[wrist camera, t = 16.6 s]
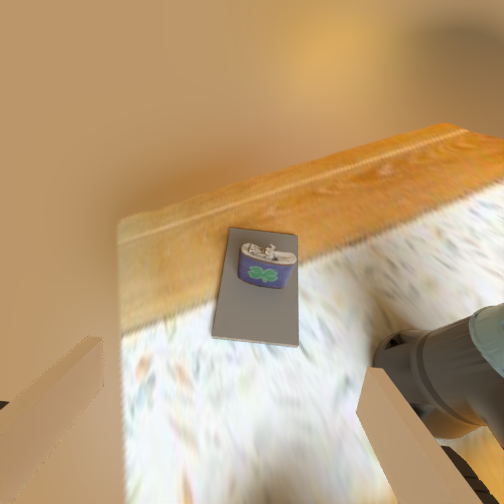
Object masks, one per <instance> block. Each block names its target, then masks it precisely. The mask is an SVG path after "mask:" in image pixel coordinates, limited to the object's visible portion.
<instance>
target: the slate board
mask: <svg viewBox="0 0 504 504" xmlns="http://www.w3.org/2000/svg"><path fill="white" fill-rule="evenodd" d="M245 243H252V244H254V245H257V246H259V247H262V248H267V247H269V248H271V245H270V244H272V245H273V246H275V249H273V250H275V251H281V252H291V253H294V254H295V256H296V258H297V262H296V264H295V266H294V268H293V271H292V273H291V275H290V278H289V280H288V282H287V285H286V286H285V287H284V288H281V289H273V288H265V287H258V286H254V285H250V284H248V283H245V282H243V281H241V280H240V279H239V278H238V261H239V249H240V246H241V245H242V244H245ZM212 338H214V339H223V340H232V341H241V342H250V343H259V344H268V345H277V346H286V347H296V348H297V347H298V346H299V326H298V236H296V235H288V234H280V233H271V232H263V231H255V230H246V229H238V228H230V233H229V239H228V244H227V250H226V256H225V262H224V268H223V274H222V280H221V286H220V292H219V298H218V304H217V310H216V316H215V321H214V327H213V333H212Z"/></svg>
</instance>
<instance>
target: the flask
mask: <svg viewBox="0 0 504 504" xmlns="http://www.w3.org/2000/svg"><path fill="white" fill-rule="evenodd" d="M270 245H271V248H269V247H267V248H262V247H259V246H257V245H254V244H252V243H245V244H242V245H241V246H240V249H239V261H238V278H239V279H240V280H241V281H243V282H245V283H248V284H250V285H254V286H258V287H265V288H273V289H281V288H284V287H285V286H286V285H287V282H288V280H289V278H290V275H291V273H292V271H293V268H294V266H295V264H296V262H297V258H296V256H295V254H294V253H291V252H281V251H275V250H273V249H275V246H273V245H272V244H270Z"/></svg>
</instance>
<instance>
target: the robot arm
mask: <svg viewBox="0 0 504 504" xmlns="http://www.w3.org/2000/svg"><path fill="white" fill-rule="evenodd" d="M103 378H104V374H103V338H101V337H92V336H87V337H86V338H85V339H84V340H82V341H81V342H80V343H79V344H78V345H76V346H75V347H74V348H73V349H72V350H71V351H69V352H68V353H67V354H66V355H65V356H64V357H62V358H61V359H60V360H59V361H58V362H56V363H55V364H54V365H53V366H52V367H51V368H49V369H48V370H47V371H46V372H45V373H44V374H42V375H41V376H40V377H39V378H38V379H37V380H35V381H34V382H33V383H32V384H31V385H30V386H28V387H27V388H26V389H25V390H24V391H22V392H21V393H20V394H19V395H18V396H16V397H15V398H14V399H13V400H12V401H11V402H6V401H0V504H12V502H13V501H14V500H15V499H16V497H17V496H18V495H19V493H20V492H21V491H22V490H23V488H24V487H25V486H26V485H27V483H28V482H29V480H30V479H31V478H32V477H33V475H34V474H35V473H36V472H37V470H38V469H39V468H40V467H41V465H42V464H43V463H44V461H45V460H46V459H47V457H48V456H49V455H50V454H51V453H52V451H53V450H54V449H55V448H56V446H57V445H58V443H59V442H60V441H61V440H62V439H63V437H64V436H65V435H66V433H67V432H68V431H69V430H70V428H71V427H72V426H73V425H74V423H75V422H76V421H77V419H78V418H79V417H80V416H81V414H82V413H83V412H84V410H85V409H86V408H87V407H88V405H89V404H90V403H91V402H92V400H93V399H94V398H95V396H96V395H97V394H98V393H99V391H100V390H101V389H102V387H103V386H104V383H103V382H104V379H103ZM356 414H357V416H358V418H359V420H360V422H361V425H362V427H363V429H364V431H365V433H366V435H367V437H368V439H369V442H370V444H371V446H372V448H373V450H374V452H375V454H376V456H377V459H378V461H379V463H380V465H381V467H382V469H383V471H384V473H385V475H386V478H387V480H388V482H389V484H390V486H391V488H392V490H393V492H394V495H395V497H396V499H397V501H398V503H399V504H499V503H498V501H497V500H496V499H495V498H494V496H493V495H491V494H490V492H489V490H488V489H487V487H486V486H485V485H484V484H483V482H482V481H481V480H479V479H478V476H477V475H476V474H475V472H474V471H473V470H472V469H471V467H470V466H469V465H468V464H467V462H466V461H465V460H464V459H463V458H461V457H460V456H459V455H458V454H457V453H456V452H455V451H453V450H452V449H451V448H450V447H448V446H440V445H439V444H438V442H437V441H436V440H435V438H438V439H455V438H459V437H462V436H464V435H466V434H468V433H469V432H471V431H473V430H475V429H477V428H479V427H480V426H488V428H489V429H490V431H491V432H492V434H493V435H494V437H495V438H496V440H497V441H498V442H499V444H500V445H501V447H502V448H503V450H504V303H502V304H499V305H496V306H488V307H485V308H482V309H480V310H478V311H476V312H475V313H474V314H473V315H472V316H469V317H467V318H464V319H462V320H459V321H456V322H454V323H451V324H449V325H446V326H443V327H441V328H438V329H436V330H434V331H428V330H404V331H400V332H397V333H395V334H393V335H391V336H389V337H387V338H386V339H385V340H383V341H382V343H381V344H380V345H379V347H378V348H377V350H376V353H375V357H374V363H373V367H367V370H366V374H365V378H364V382H363V387H362V391H361V395H360V399H359V403H358V407H357V411H356Z"/></svg>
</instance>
